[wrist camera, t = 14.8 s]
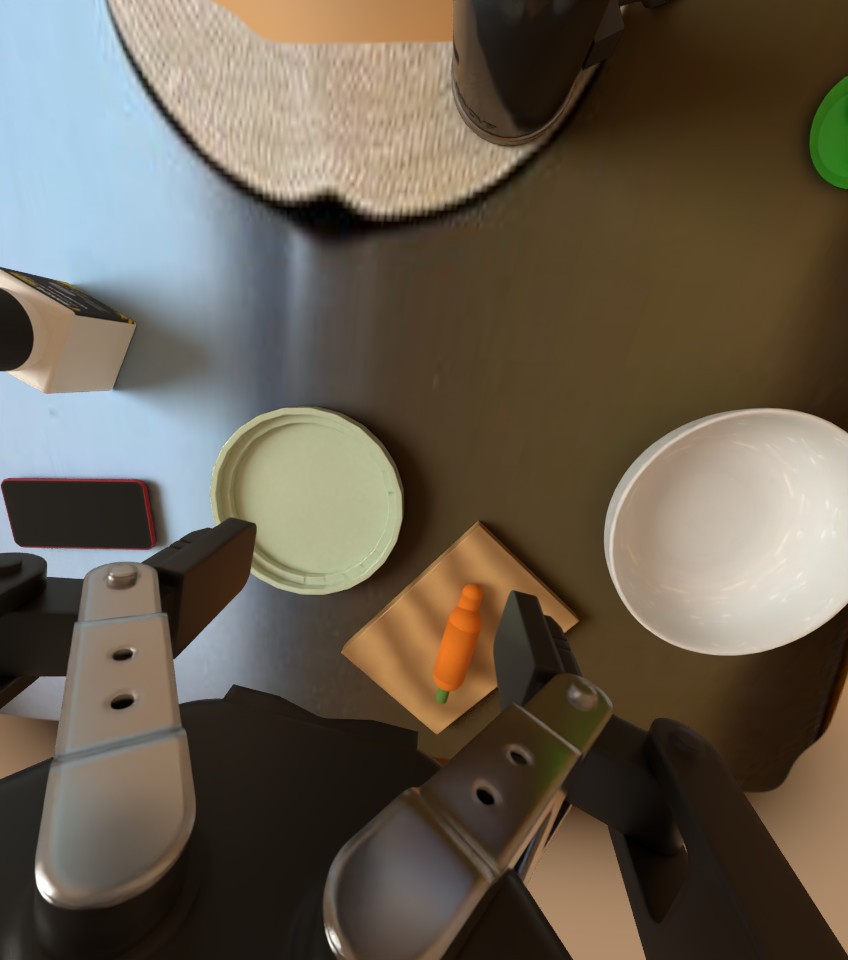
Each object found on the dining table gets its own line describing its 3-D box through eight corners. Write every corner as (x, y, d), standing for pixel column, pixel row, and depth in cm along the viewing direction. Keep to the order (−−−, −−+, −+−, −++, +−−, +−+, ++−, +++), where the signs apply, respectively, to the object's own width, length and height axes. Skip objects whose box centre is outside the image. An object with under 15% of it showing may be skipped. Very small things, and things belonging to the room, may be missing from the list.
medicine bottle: (139, 323, 39) (8, 302, 28) (113, 391, 41) (-21, 399, 29) (67, 281, 39) (-97, 242, 27) (44, 352, 40) (-120, 344, 29)
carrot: (458, 576, 42) (459, 592, 39) (490, 584, 42) (494, 601, 39) (426, 684, 45) (424, 707, 42) (455, 691, 45) (456, 715, 42)
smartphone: (154, 550, 44) (15, 547, 45) (160, 546, 45) (23, 544, 45) (143, 480, 42) (-2, 478, 43) (149, 478, 43) (7, 476, 44)
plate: (302, 364, 39) (292, 363, 37) (443, 499, 42) (443, 506, 39) (187, 498, 43) (172, 506, 41) (322, 615, 45) (315, 628, 43)
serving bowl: (680, 651, 44) (721, 701, 37) (538, 515, 41) (555, 542, 35) (865, 513, 39) (950, 541, 33) (718, 350, 37) (777, 345, 30)
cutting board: (478, 520, 42) (479, 525, 40) (575, 612, 44) (579, 621, 42) (344, 644, 46) (341, 652, 45) (437, 724, 48) (436, 735, 46)
